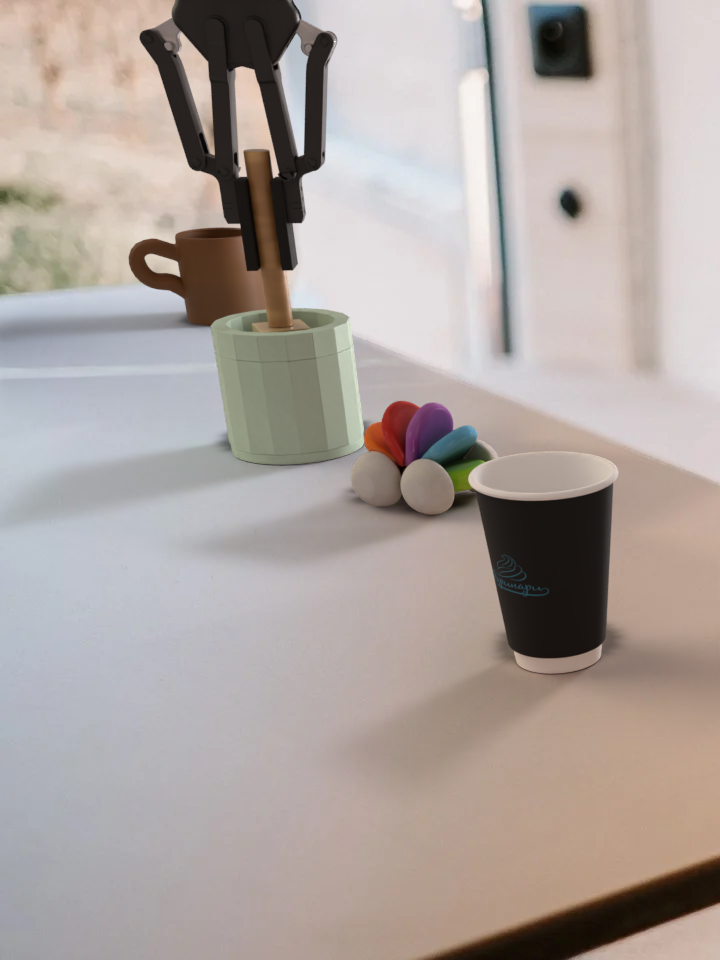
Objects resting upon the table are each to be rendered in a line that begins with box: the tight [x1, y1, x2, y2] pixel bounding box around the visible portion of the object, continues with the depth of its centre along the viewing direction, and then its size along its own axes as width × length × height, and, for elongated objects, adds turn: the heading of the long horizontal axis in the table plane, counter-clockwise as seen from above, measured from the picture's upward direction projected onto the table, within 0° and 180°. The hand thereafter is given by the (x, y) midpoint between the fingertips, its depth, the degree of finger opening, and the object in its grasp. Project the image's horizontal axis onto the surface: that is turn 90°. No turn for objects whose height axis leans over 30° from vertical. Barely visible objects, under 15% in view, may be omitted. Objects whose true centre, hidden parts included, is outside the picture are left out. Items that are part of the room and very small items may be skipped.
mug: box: [128, 226, 266, 327], centre depth 163 cm, size 12×8×9 cm, turn 119°
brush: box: [243, 148, 311, 333], centre depth 122 cm, size 4×4×16 cm
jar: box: [210, 307, 365, 466], centre depth 126 cm, size 10×10×10 cm
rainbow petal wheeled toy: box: [350, 400, 499, 516], centre depth 115 cm, size 8×10×7 cm
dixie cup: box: [468, 450, 619, 675], centre depth 90 cm, size 8×8×11 cm
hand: (272, 266), depth 122 cm, fingers closed on brush, 2 cm apart
